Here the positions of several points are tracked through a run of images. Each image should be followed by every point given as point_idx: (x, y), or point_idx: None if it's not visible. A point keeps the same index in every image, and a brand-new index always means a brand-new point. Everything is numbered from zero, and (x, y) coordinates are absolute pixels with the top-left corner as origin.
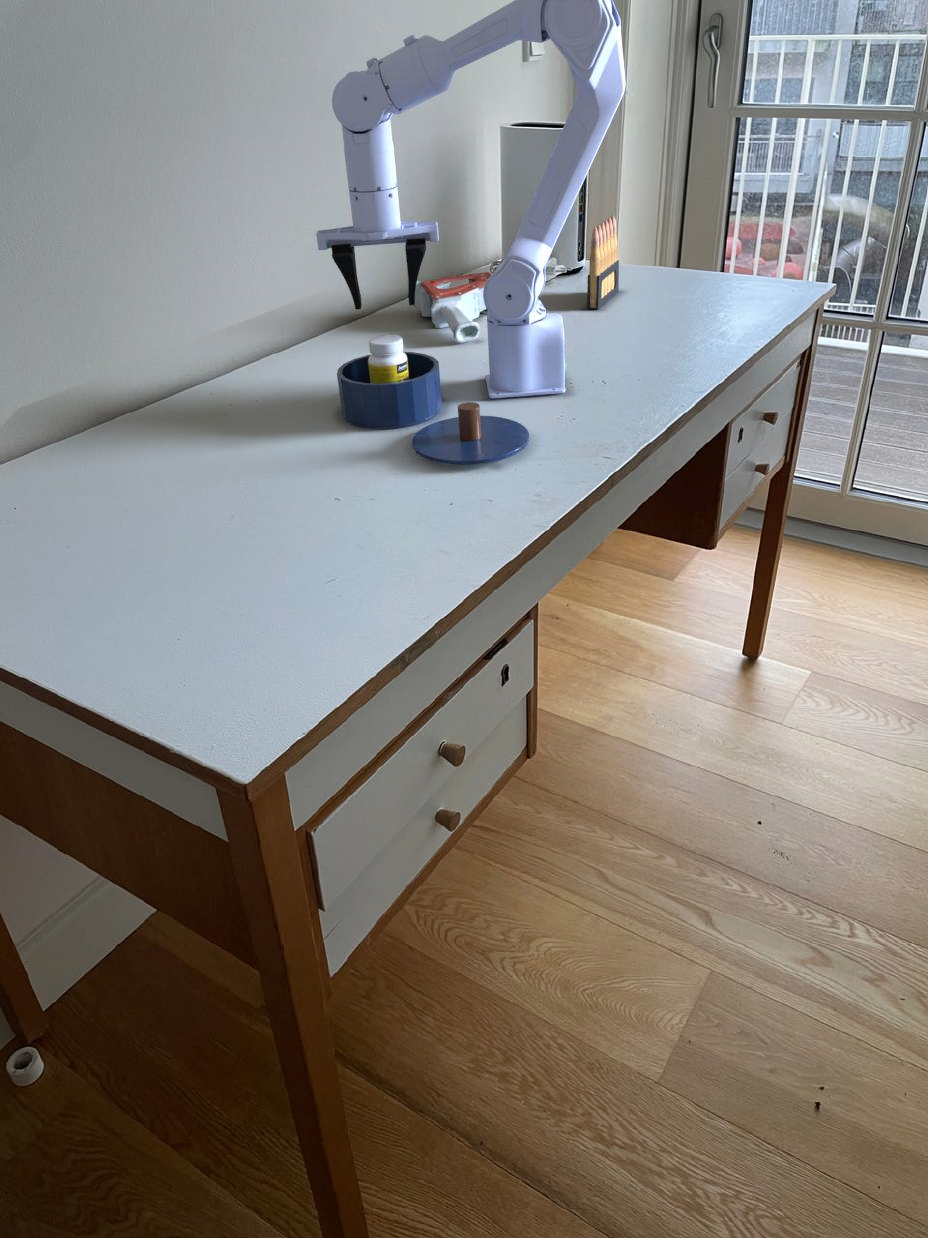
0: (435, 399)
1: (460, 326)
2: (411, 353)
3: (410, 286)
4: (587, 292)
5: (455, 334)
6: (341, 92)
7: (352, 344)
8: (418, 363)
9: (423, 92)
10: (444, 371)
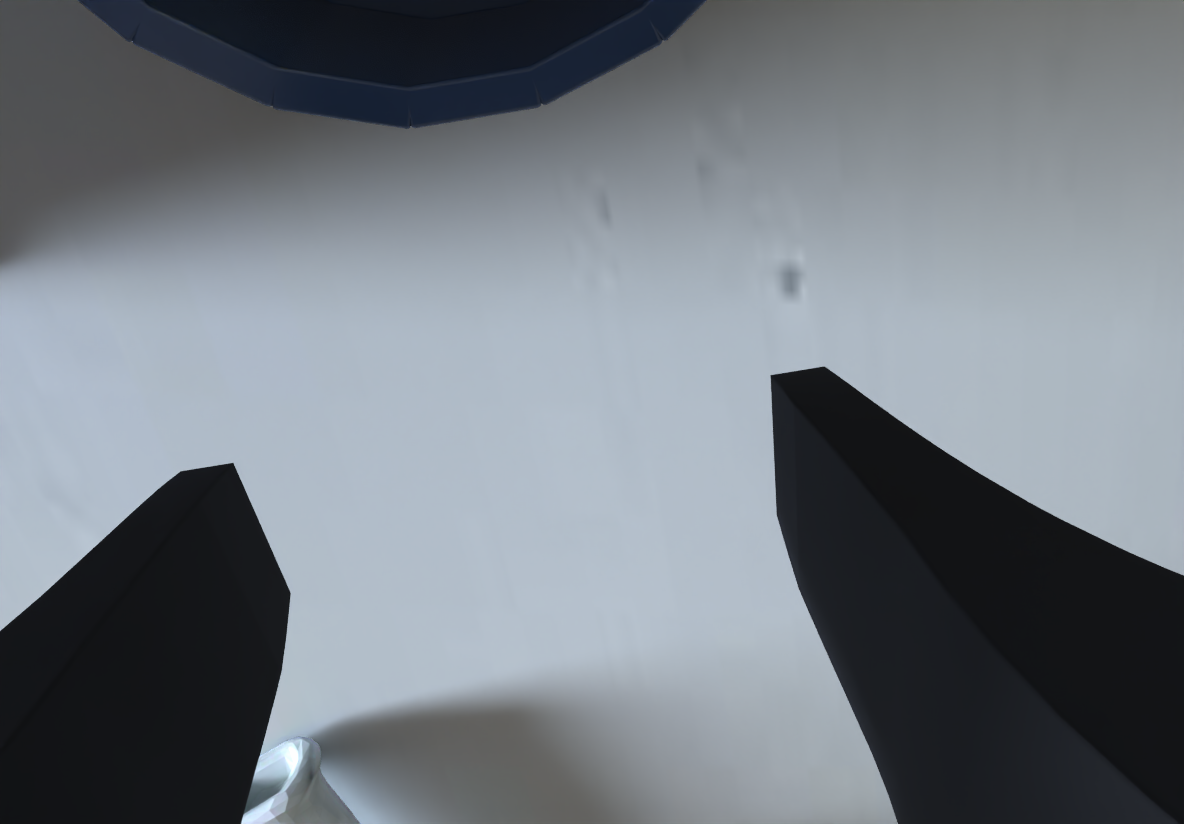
0: None
1: (273, 806)
2: (254, 60)
3: (100, 582)
4: None
5: (304, 763)
6: None
7: (821, 736)
8: (205, 8)
9: None
10: (263, 408)
